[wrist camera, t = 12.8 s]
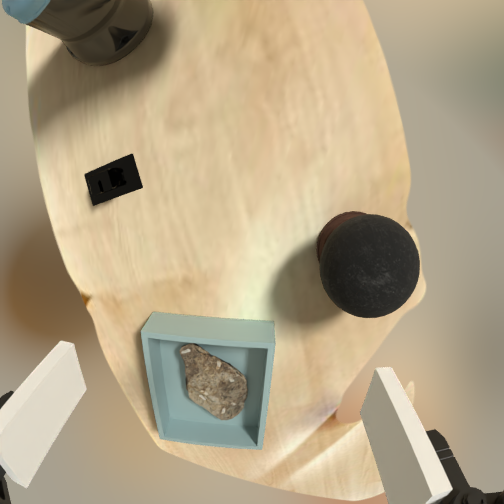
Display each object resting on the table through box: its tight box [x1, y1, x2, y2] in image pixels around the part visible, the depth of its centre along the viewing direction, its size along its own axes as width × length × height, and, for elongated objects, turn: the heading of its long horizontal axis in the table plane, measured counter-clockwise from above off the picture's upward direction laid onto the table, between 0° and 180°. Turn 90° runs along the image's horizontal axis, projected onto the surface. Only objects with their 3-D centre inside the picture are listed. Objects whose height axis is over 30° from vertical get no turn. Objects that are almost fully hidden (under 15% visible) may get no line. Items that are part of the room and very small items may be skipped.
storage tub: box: [141, 312, 275, 450], centre depth 51 cm, size 26×20×6 cm
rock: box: [179, 343, 248, 420], centre depth 51 cm, size 18×11×4 cm, turn 40°
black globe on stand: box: [317, 211, 420, 318], centre depth 39 cm, size 13×13×15 cm
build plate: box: [85, 154, 143, 206], centre depth 42 cm, size 12×7×5 cm, turn 105°
